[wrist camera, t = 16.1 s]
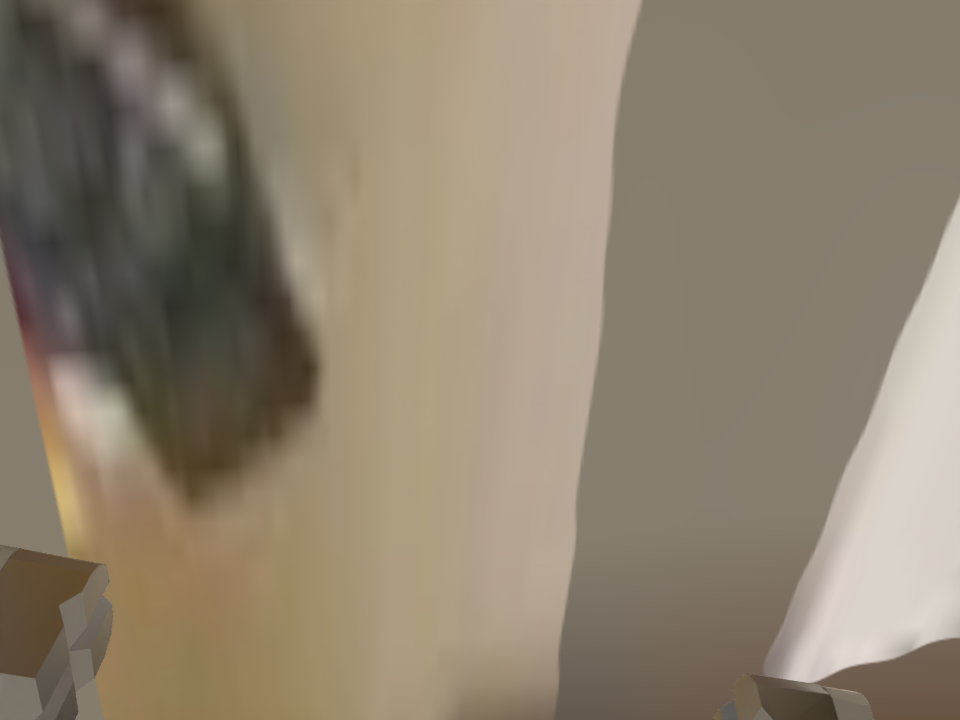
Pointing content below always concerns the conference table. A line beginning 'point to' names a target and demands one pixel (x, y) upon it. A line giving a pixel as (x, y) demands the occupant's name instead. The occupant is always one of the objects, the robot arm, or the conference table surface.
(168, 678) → the conference table surface
